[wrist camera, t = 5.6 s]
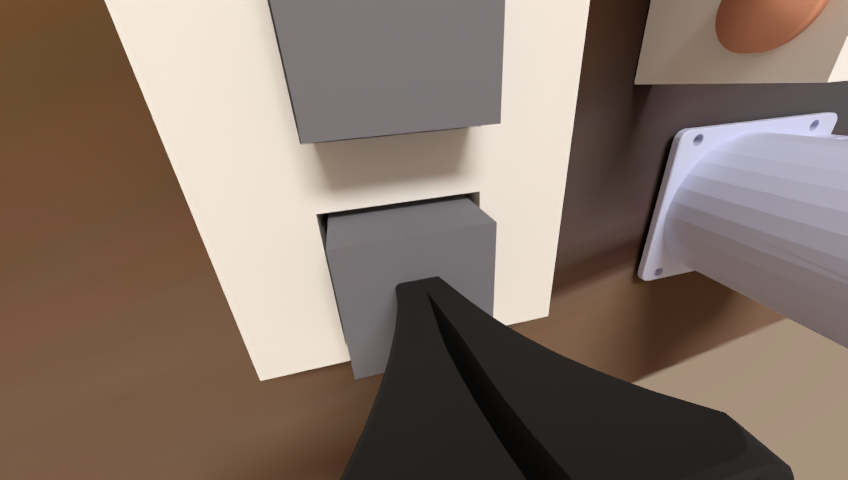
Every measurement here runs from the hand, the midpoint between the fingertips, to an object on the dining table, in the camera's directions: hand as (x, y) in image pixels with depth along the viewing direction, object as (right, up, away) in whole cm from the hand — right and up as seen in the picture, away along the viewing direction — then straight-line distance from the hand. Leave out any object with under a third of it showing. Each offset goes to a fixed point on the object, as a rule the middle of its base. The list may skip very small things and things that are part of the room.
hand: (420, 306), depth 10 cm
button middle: (-1, +8, -1) cm, 8 cm away
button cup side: (-1, +1, +3) cm, 3 cm away
